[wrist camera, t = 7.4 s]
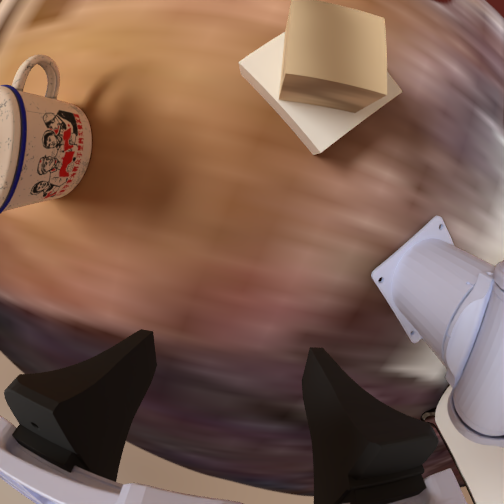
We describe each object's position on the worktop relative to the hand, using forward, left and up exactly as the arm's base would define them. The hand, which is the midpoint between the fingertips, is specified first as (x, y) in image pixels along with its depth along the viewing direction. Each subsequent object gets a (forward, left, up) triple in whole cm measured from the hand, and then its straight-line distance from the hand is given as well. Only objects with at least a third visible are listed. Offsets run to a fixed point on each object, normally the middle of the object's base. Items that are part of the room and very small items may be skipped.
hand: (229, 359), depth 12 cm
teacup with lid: (+20, +4, -10) cm, 23 cm away
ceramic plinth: (+8, -14, -10) cm, 19 cm away
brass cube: (+8, -14, -7) cm, 18 cm away
